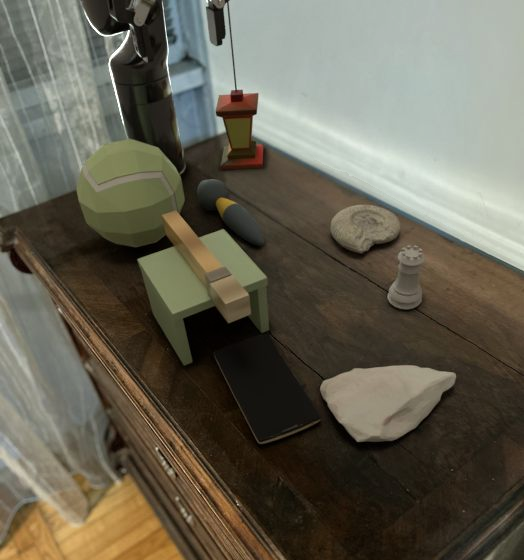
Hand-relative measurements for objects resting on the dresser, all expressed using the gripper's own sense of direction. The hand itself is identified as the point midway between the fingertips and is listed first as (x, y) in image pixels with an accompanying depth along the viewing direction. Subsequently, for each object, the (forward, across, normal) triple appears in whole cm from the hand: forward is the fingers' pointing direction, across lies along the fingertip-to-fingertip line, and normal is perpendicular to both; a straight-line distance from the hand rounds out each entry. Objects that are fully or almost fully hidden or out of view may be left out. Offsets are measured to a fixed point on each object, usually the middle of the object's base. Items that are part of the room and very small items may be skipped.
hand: (183, 52), depth 64 cm
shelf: (+28, -7, -14) cm, 32 cm away
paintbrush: (+28, +6, +6) cm, 30 cm away
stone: (+28, +5, -37) cm, 47 cm away
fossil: (+28, +21, -9) cm, 36 cm away
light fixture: (+28, +17, +24) cm, 41 cm away
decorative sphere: (+28, -8, +10) cm, 31 cm away
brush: (+19, -7, -14) cm, 25 cm away
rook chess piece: (+28, +17, -24) cm, 41 cm away
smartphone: (+28, -6, -28) cm, 40 cm away
